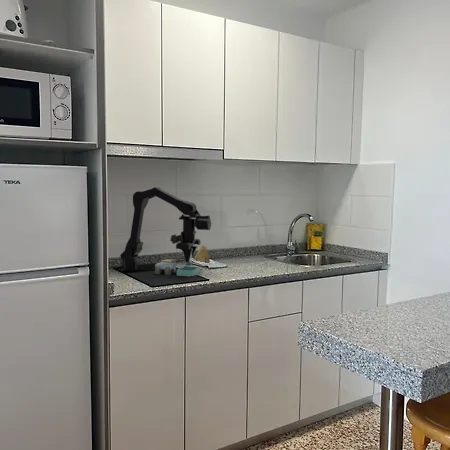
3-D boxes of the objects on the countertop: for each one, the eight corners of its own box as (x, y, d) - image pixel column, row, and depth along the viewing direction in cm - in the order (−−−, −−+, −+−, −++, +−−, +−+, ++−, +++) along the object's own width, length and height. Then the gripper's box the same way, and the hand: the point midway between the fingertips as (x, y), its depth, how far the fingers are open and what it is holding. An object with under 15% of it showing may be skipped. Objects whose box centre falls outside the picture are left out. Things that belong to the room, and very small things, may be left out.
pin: (184, 265, 216) (184, 248, 215) (186, 264, 218) (186, 247, 218) (190, 265, 215) (190, 249, 214) (192, 264, 218) (192, 248, 217)
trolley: (153, 275, 214) (153, 264, 214) (161, 271, 224) (161, 260, 223) (169, 276, 212) (169, 265, 212) (177, 272, 222) (177, 261, 221)
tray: (176, 276, 213) (176, 269, 213) (184, 272, 223) (184, 266, 223) (193, 277, 211) (193, 270, 211) (199, 273, 221) (200, 267, 221)
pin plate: (188, 270, 226) (188, 270, 226) (192, 268, 232) (192, 268, 232) (200, 271, 225) (200, 270, 225) (203, 269, 231) (203, 268, 231)
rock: (215, 261, 243) (212, 255, 252) (206, 249, 240) (203, 244, 250) (198, 273, 243) (196, 267, 252) (189, 261, 240) (187, 255, 249)
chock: (161, 271, 225) (161, 260, 225) (167, 268, 233) (167, 258, 232) (169, 271, 224) (169, 261, 223) (175, 269, 232) (175, 258, 231)
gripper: (179, 226, 226) (179, 257, 228) (165, 230, 208) (165, 263, 210) (201, 227, 223) (200, 259, 225) (188, 231, 205) (188, 265, 207)
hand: (188, 261), depth 216 cm, fingers closed on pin, 3 cm apart
